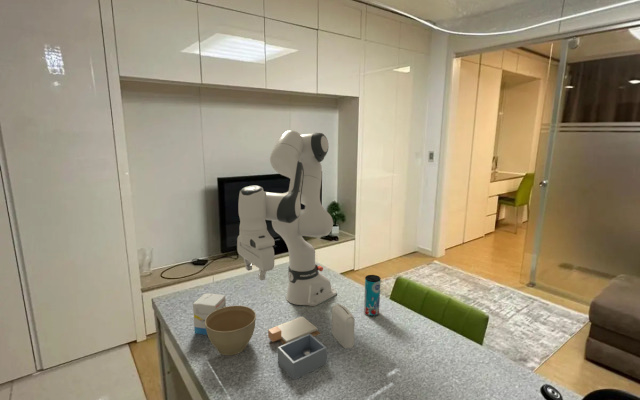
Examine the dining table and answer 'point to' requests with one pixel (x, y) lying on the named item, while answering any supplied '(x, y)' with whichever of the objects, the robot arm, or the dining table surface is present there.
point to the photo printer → (343, 325)
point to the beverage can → (372, 295)
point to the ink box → (206, 310)
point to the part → (307, 352)
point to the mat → (302, 336)
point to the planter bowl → (230, 328)
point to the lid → (291, 330)
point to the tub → (301, 356)
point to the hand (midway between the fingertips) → (255, 274)
